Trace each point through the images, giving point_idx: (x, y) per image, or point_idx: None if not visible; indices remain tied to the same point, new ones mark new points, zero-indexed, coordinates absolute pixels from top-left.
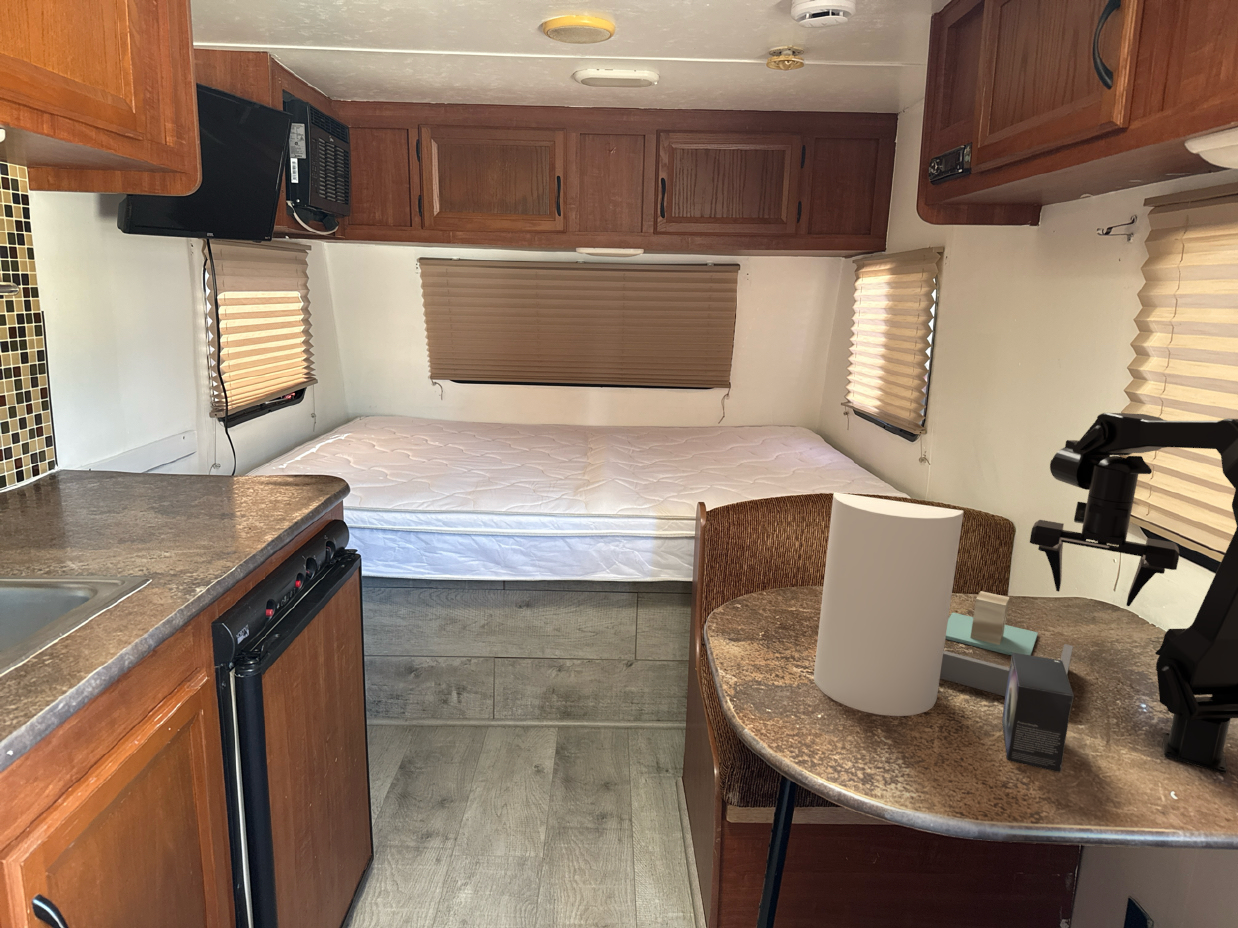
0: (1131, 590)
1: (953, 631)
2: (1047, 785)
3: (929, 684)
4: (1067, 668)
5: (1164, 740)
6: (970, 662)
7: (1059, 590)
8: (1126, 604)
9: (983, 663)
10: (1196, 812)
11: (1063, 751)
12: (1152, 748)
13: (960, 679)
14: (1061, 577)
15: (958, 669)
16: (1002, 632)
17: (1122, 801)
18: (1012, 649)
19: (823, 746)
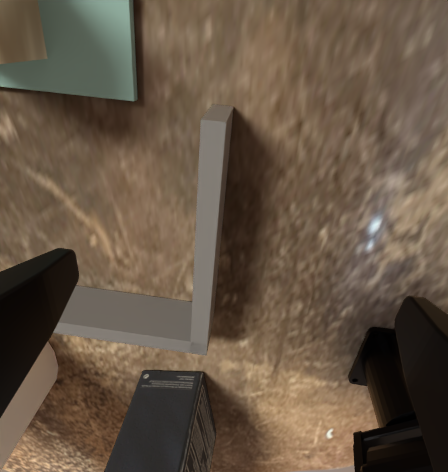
0: (427, 449)
1: None
2: None
3: (33, 416)
4: (211, 286)
5: (361, 353)
6: None
7: (76, 270)
8: (397, 320)
9: (64, 331)
10: (344, 450)
11: (211, 460)
12: (338, 361)
13: None
14: (27, 287)
15: None
16: (21, 12)
17: (272, 452)
18: (85, 73)
19: (16, 452)
